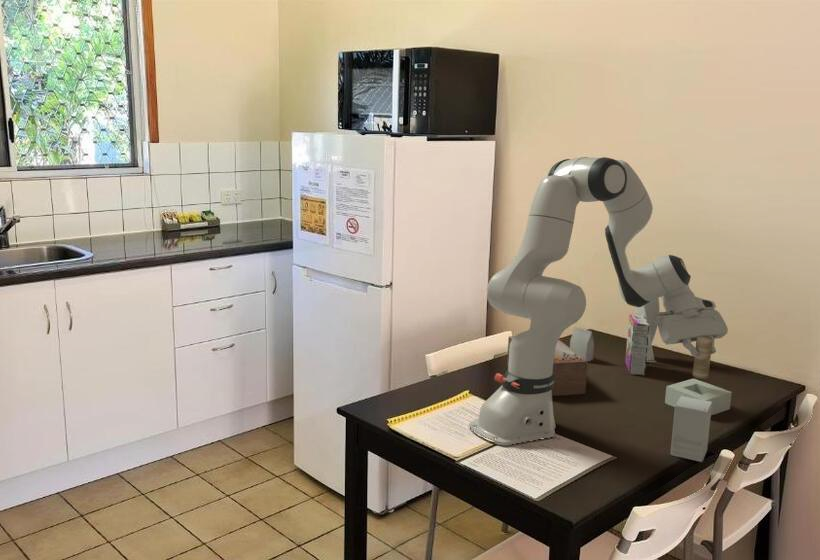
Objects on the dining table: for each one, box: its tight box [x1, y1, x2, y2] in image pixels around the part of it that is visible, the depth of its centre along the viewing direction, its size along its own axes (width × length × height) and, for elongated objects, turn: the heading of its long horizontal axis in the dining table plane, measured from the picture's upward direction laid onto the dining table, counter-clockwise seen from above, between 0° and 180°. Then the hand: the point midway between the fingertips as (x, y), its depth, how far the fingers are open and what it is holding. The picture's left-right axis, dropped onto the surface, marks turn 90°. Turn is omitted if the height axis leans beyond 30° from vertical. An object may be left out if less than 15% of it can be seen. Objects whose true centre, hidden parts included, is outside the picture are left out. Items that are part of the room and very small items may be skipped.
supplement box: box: [670, 396, 712, 463], centre depth 173 cm, size 7×7×13 cm
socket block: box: [664, 377, 733, 416], centre depth 202 cm, size 12×12×5 cm
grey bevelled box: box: [569, 326, 595, 362], centre depth 239 cm, size 4×7×10 cm, turn 38°
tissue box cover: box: [506, 335, 588, 397], centre depth 219 cm, size 26×14×10 cm, turn 12°
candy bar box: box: [624, 313, 649, 376], centre depth 229 cm, size 11×5×16 cm, turn 171°
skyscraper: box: [635, 297, 661, 363], centre depth 239 cm, size 8×8×28 cm
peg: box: [692, 336, 713, 380], centre depth 200 cm, size 4×4×11 cm
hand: (704, 354), depth 199 cm, fingers closed on peg, 4 cm apart
